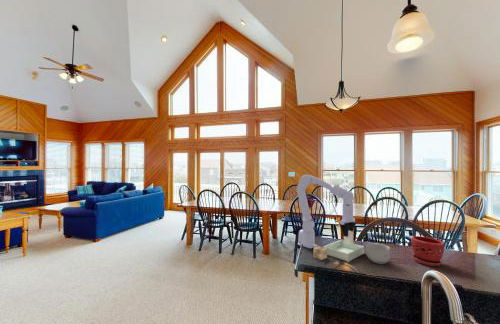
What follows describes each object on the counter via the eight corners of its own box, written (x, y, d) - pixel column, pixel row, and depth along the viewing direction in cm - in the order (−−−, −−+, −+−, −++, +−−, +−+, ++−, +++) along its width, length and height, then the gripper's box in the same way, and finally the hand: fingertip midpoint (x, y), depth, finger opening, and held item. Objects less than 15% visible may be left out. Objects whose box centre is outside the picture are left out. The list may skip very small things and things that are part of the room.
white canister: (342, 243, 126) (342, 230, 127) (346, 241, 129) (346, 229, 130) (350, 245, 122) (350, 232, 123) (354, 243, 125) (354, 231, 125)
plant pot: (431, 269, 104) (431, 244, 105) (405, 258, 117) (405, 236, 117) (451, 266, 107) (450, 242, 108) (423, 256, 120) (423, 234, 121)
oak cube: (313, 257, 116) (313, 247, 117) (318, 255, 120) (318, 246, 120) (321, 260, 113) (321, 250, 113) (326, 258, 116) (326, 248, 116)
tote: (323, 253, 122) (323, 246, 122) (340, 246, 134) (340, 240, 134) (348, 261, 111) (348, 253, 111) (364, 253, 123) (364, 246, 123)
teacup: (389, 268, 105) (388, 251, 105) (364, 262, 111) (364, 246, 112) (391, 259, 116) (391, 244, 116) (368, 254, 122) (368, 239, 123)
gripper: (348, 214, 119) (348, 239, 118) (360, 211, 128) (360, 234, 128) (336, 212, 124) (336, 236, 124) (348, 209, 134) (348, 232, 133)
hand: (347, 235), depth 126 cm, fingers closed on white canister, 5 cm apart
